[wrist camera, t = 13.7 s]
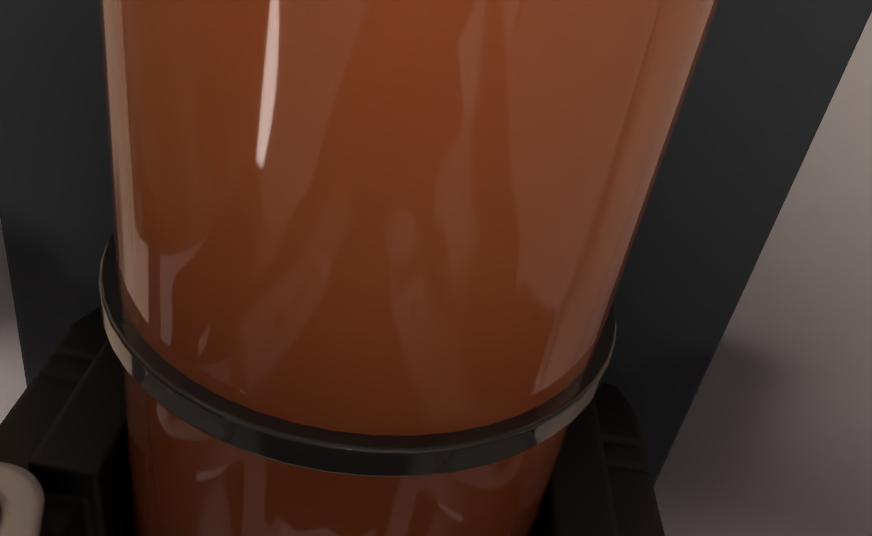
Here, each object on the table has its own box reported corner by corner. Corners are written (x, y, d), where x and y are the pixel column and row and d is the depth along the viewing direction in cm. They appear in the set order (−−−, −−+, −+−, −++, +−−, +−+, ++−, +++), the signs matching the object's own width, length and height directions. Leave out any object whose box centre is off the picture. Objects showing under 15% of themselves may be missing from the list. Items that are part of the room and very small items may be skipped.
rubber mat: (544, 693, 17) (546, 722, 17) (79, 628, 17) (67, 656, 16) (999, -333, 7) (1035, -340, 7) (-86, -561, 7) (-130, -585, 6)
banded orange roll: (728, -273, 7) (1049, -316, 3) (439, 677, 16) (425, 998, 12) (195, -382, 7) (-209, -587, 3) (195, 643, 16) (93, 958, 12)
